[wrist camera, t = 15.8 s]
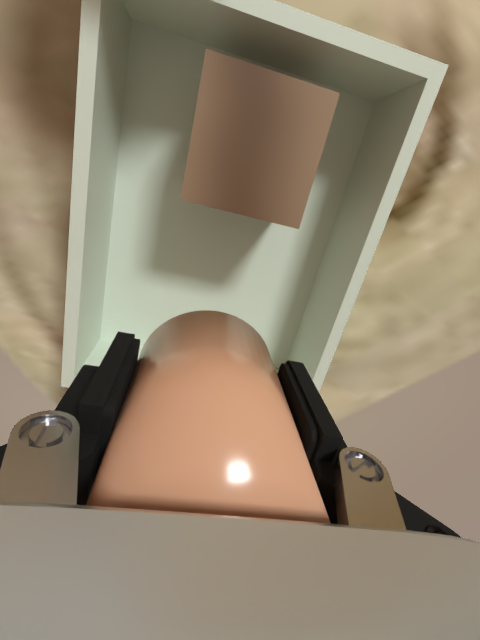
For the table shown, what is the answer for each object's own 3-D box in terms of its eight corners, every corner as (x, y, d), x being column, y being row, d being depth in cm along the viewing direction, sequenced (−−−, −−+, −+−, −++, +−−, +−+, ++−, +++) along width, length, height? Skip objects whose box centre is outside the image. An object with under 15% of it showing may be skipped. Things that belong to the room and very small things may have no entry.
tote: (384, 94, 17) (448, 65, 13) (287, 373, 24) (307, 421, 19) (121, 4, 15) (85, -71, 10) (92, 341, 21) (60, 386, 17)
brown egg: (256, 428, 14) (299, 642, 8) (133, 418, 13) (67, 646, 7) (284, 320, 12) (373, 483, 6) (143, 300, 11) (64, 464, 5)
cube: (303, 115, 17) (340, 93, 12) (276, 216, 19) (298, 229, 14) (205, 84, 16) (205, 48, 11) (187, 193, 18) (180, 199, 13)
